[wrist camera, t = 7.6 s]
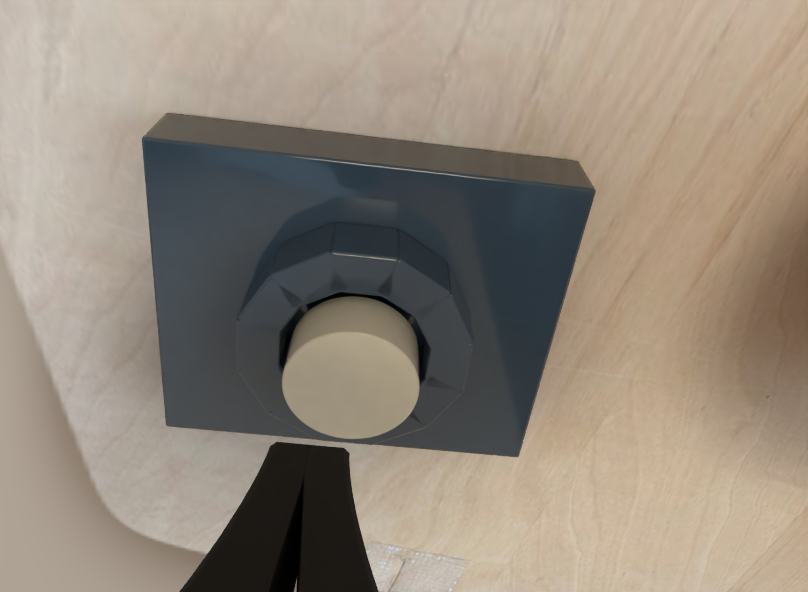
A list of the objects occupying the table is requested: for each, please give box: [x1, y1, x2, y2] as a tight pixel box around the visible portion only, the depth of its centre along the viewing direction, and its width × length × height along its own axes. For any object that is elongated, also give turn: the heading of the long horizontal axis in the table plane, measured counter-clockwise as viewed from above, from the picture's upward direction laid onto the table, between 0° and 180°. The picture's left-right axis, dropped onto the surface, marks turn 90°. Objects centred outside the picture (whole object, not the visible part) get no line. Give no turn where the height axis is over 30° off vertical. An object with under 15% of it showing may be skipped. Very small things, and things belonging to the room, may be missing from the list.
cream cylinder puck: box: [282, 296, 420, 439], centre depth 18 cm, size 4×4×2 cm
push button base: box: [142, 113, 596, 457], centre depth 20 cm, size 12×10×4 cm
